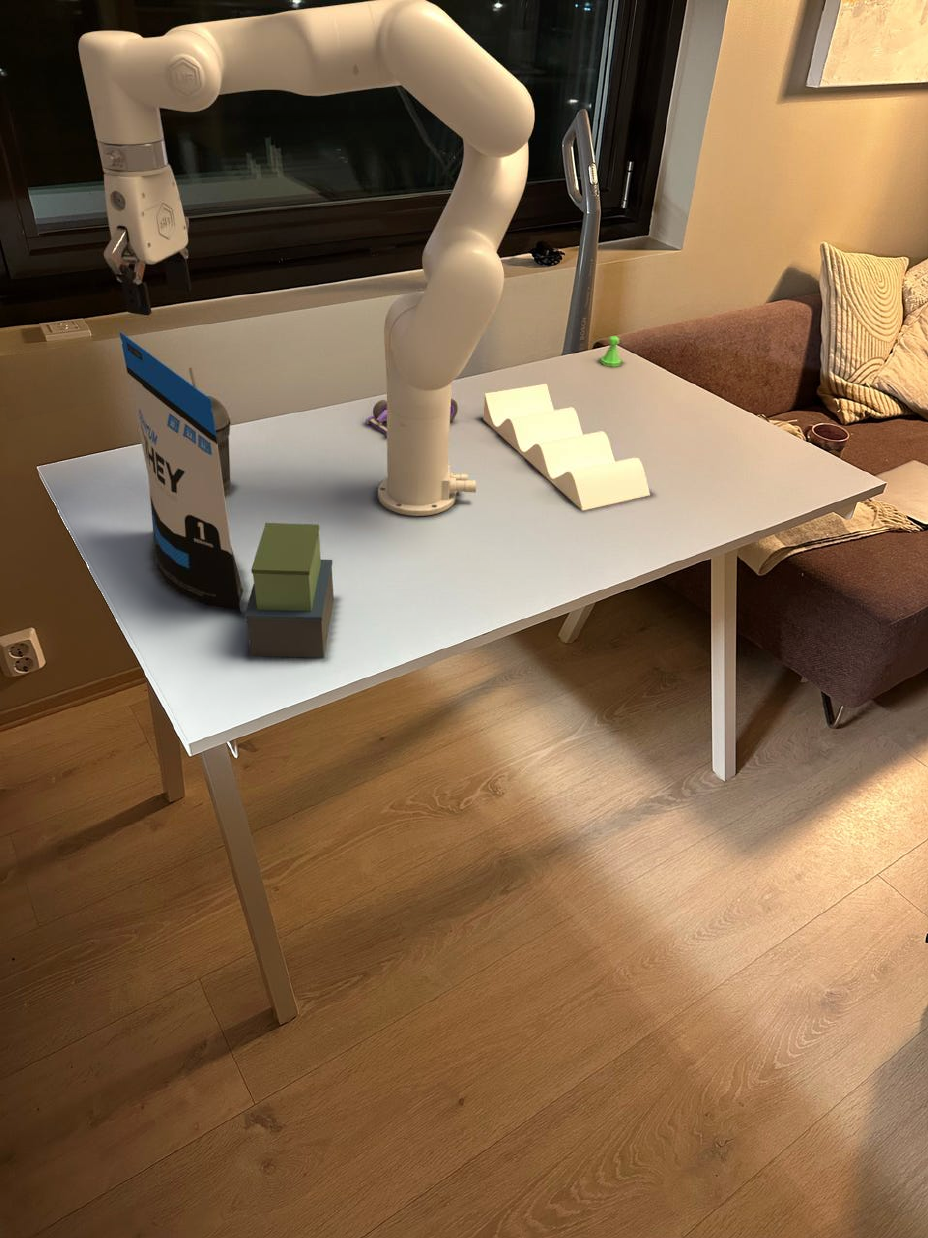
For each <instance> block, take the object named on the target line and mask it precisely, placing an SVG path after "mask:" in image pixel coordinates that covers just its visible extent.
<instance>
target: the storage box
mask: <svg viewBox="0 0 928 1238" xmlns="http://www.w3.org/2000/svg"><path fill="white" fill-rule="evenodd" d="M249 595H250V596H249V598H248V602H247V605H246V609H245V612H244V616H243V617H244V619H245V622H246V629H247V636H248V637H247V638H248V644H249V650H250V651H249V652H250V656H251V657H282V658H319V659H321V658H322V659H324V658H325V653H326V648H327V647H326V646H327V641H328V637H329V630H330V624H331V617H332V611H333V605H334V599H335V598H334V581H333V559H321V566H320V571H319V576H318V581H317V586H316V591H315V596H314V601H313V607H312V611H286V610H257V603H256V595H255V587H254V584H253V585H252V588H251V591H250V594H249Z"/></svg>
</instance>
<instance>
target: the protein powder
mask: <svg viewBox="0 0 928 1238" xmlns="http://www.w3.org/2000/svg"><path fill="white" fill-rule="evenodd" d="M118 333H119V338H120V341H121V348H122V352H123V353H122V354H123V357H124V363H125V368H126V373H127V376H128V377H127V379H128V384H129V388H130V393H131V398H132V404H133V408H134V413H135V418H136V423H137V427H138V433H139V437H140V442H141V447H142V451H143V457H144V462H145V466H146V471H147V476H148V487H149V500H150V511H151V523H152V535H153V536H152V537H153V547H154V556H155V564H156V570H157V572H158V573H159V575H160V576H161V578H162V580H163V581H164V583H165V584H166V585H167V586H169V587H170V588H171V589H173V590H174V591H176V592H177V593H178V594H179V595H181V596H183V597H186V598H188V599H191V600H193V601H195V602H198V603H200V604H203V605H205V606H207V607H212V608H213V607H214V608H219V609H225V610H226V609H227V610H231V611H237V612H238V613H239V614H240V615H242V610H241V604H240V603H241V601H242V597H243V593H244V590H243V585H242V582H241V578H240V574H239V569H238V566H237V562H236V558H235V554H234V551H233V548H232V543H231V535H230V528H229V527H230V526H229V520H228V513H227V504H226V498H225V495H224V488H223V481H222V474H221V466H220V459H219V452H218V445H217V438H216V431H215V424H214V416H213V412H212V410H211V408H212V402H211V399H210V398H209V397H208V396H209V395H206V394H205V393H204V392H202V391H201V390H200V389H198V387H197V388H195V387H194V386H193V384H192V383H190V382H189V381H188V380H186V379H184V378H183V377H182V376H181V375H179V374H178V373H177V372H175V371H174V370H173V369H172V368H170V367H169V366H167V365H166V364H165V363H163V362H162V361H161V360H159V359H158V358H157V357H155V356H153V354H151V353H149V352H148V351H147V350H146V349H144V348H143V347H141V346H140V344H137V343H136V342H135V341H133V339H131V338H129V337H128V336H127V335H125V334H124V333H123V332H121V331H119V332H118Z"/></svg>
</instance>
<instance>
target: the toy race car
mask: <svg viewBox="0 0 928 1238" xmlns="http://www.w3.org/2000/svg"><path fill="white" fill-rule="evenodd" d="M458 409H459V405H458V403H457V401H456V400H455V399H453V398H452V397H451V407H450V423H451V422H452V421H453V420H455V418H456V416H457V413H458ZM382 423H387V400H385V399H381V400H379V401H377V402H376V403H375V404H374V406H373V409H372V415H371V416H369V417H368V418H366V419H365V424H366V425H372V426H373V427H374V428H376V429H378V430H379V431H381V432H382V433H384V434H385V437H386V438H387V426H384V425H383V424H382Z"/></svg>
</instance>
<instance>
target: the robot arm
mask: <svg viewBox="0 0 928 1238" xmlns="http://www.w3.org/2000/svg"><path fill="white" fill-rule="evenodd" d="M78 54H79V60H80V64H81V65H80V66H81V69H82V74H83V78H84V83H85V88H86V92H87V93H86V94H87V98H88V103H89V108H90V111H91V117H92V118H91V119H92V121H93V127H94V128H93V129H94V132H95V138H96V140H97V141H96V142H97V147H98V151H99V157H100V161H101V166H102V171H103V183H104V184H103V185H104V196H105V206H106V212H107V214H106V215H107V220H108V226H109V231H110V237H111V239H110V240H109V243H108V244H107V246H106V247H105V249H104V251H103V257H104V259H105V261H106V263H107V264H108V266H109V268H110V271H111V273H112V274H113V275H114V276H115V277H116V280H117V282H119V283H120V284H121V289H122V293H123V297H124V302H125V308H126V311H127V313H129V314H133V315H141V316H149V315H150V316H151V314H152V313H153V311H152V306H151V301H150V296H149V292H148V285H147V282H146V281H143V277H144V273H145V268H146V265H155V264H157V263H160V262H162V261H163V265H164V271H165V276H166V282H167V287H168V289H170V290H171V291H172V290H173V291H180V292H187V293H188V292H190V291H192V283H191V279H190V278H191V276H190V271H189V265H188V258H189V255H190V254H189V250H188V245H189V241H190V238H189V227H190V226H189V225H190V221H189V218H188V216H186V215H185V214H184V210H183V205H182V201H181V196H180V192H179V189H178V185H177V181H176V179H175V175H174V172H173V169H172V167H171V164H169V162H168V155H167V151H166V150H167V149H166V142H165V138H164V137H165V136H164V130H163V125H162V119H161V118H162V117H161V112H160V111H161V110H160V109H166V110H172V111H178V112H186V113H195V112H200V111H203V110H205V109H207V108H210V106H211V105H212V104H214V103H215V101H216V100H217V98H218V97H219V96H220V95H226V94H233V93H241V92H250V91H262V90H263V91H264V90H266V91H268V90H271V91H272V90H273V91H274V90H276V91H285V92H289V93H290V92H291V93H293V94H297V95H302V96H308V97H309V96H311V97H321V96H322V97H323V96H329V95H336V94H344V93H349V92H357V91H364V90H372V89H378V88H379V89H381V88H389V87H396V86H401V87H403V89H405V90H406V91H407V92H408V93H409V94H410V95H412V97H414V98H415V99H416V101H418V102H419V103H420V104H421V105H422V106H424V107H425V108H426V110H428V111H429V112H431V113H432V114H433V115H434V116H435V117H437V119H439V120H440V121H441V122H443V124H445V126H447V127H449V128H450V129H451V130H452V131H453V132H454V133H456V134H457V135H458V136H459V137H461V139H462V141H463V158H462V163H461V164H462V165H461V168H460V172H459V175H458V177H457V180H456V182H455V185H454V187H453V190H452V192H451V194H450V196H449V198H448V200H447V203H446V205H445V206H444V208H443V211H442V213H441V215H440V217H439V219H438V221H437V223H436V225H435V227H434V229H433V231H432V233H431V235H430V237H429V239H428V241H426V245H425V246H424V249H423V252H422V257H421V263H422V270H423V273H424V276H425V279H426V281H427V286H426V288H425V290H424V292H421V291H416V292H415V291H414V292H408V293H406V294H403V295H402V296H400V297H399V298H397V299H396V300H395V301H394V302H393V304H391V305H390V307H389V310H388V311H387V314H386V317H385V320H384V325H383V342H384V356H385V357H384V359H385V373H386V374H385V375H386V377H385V378H386V401H387V422H386V428H387V437H386V471H387V472H386V478H384V479H383V480H381V482H380V483H379V484H378V487H377V499H378V500H379V502H380V504H381V505H382V506H383V507H384V508H386V509H388V510H390V511H392V512H394V513H398V514H400V515H404V516H405V515H406V516H413V517H425V516H433V515H436V514H439V513H443V512H445V511H447V510H448V509H450V508H451V507H452V506H453V505H454V504H455V503H456V501H457V492H458V493H459V492H464V493H473V494H474V493H476V491H477V480H475V479H469V474H468V473H454V472H453V471H451V464H450V463H449V449H450V425H451V422H450V407H451V398H452V383H453V382H454V381H455V380H456V379H457V378H458V377H459V375H460V374H461V373H462V372H463V370H464V369H465V367H466V366H467V364H468V362H469V360H470V358H471V357H472V354H473V353H474V351H475V349H476V348H477V346H478V344H479V342H480V340H481V338H482V337H483V335H484V333H485V331H486V329H487V328H488V325H490V322H491V320H492V318H493V316H494V314H495V312H496V310H497V308H498V306H499V304H500V301H501V299H502V296H503V290H504V287H505V272H504V266H503V263H502V259H501V258H500V256H499V254H498V253H497V252H498V249H499V247H500V245H501V243H502V240H503V239H504V236H505V234H506V232H507V230H508V228H509V226H510V223H511V221H512V219H513V217H514V215H515V213H516V210H517V208H518V206H519V203H520V201H521V199H522V196H523V193H524V190H525V187H526V182H527V178H528V171H529V139H530V137H531V135H532V132H533V129H534V124H535V107H534V102H533V99H532V96H531V95H530V93H529V91H528V89H527V88H526V87H525V85H524V84H523V83H521V81H520V80H519V79H517V78H516V77H515V76H514V75H513V74H512V73H511V72H510V71H508V70H507V69H506V68H505V67H504V66H503V65H502V64H501V63H500V62H498V61H497V60H496V59H495V58H494V57H493V56H492V55H491V54H490V53H488V52H487V51H486V50H485V49H484V48H483V47H482V46H480V45H479V43H478V42H476V41H475V40H474V39H473V38H472V37H471V36H470V35H469V34H468V33H466V31H464V29H462V28H461V27H460V26H459V25H458V23H456V22H455V20H453V19H452V17H450V16H449V15H448V14H447V13H446V12H445V11H444V10H442V9H441V8H440V7H439V6H438V5H436V4H434V3H432V2H430V1H428V0H368V1H362V2H360V1H359V2H354V3H353V2H352V3H345V4H337V5H329V6H322V7H311V8H310V7H309V8H304V9H296V10H295V9H294V10H288V11H282V12H278V13H274V14H266V15H259V16H258V15H257V16H248V17H247V16H246V17H239V18H229V19H221V20H215V21H214V20H213V21H206V22H198V23H190V24H183V25H179V26H176V27H173V28H171V29H170V30H168V31H167V32H166V33H165V34H164V35H162V36H155V37H154V36H153V37H142V35H140V34H139V33H135V32H131V31H126V30H97V31H90V32H86V33H84V34H82V36H80V38H79V40H78ZM130 264H131V265H134V268H133V269H131V268H130V267H129V266H130Z"/></svg>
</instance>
